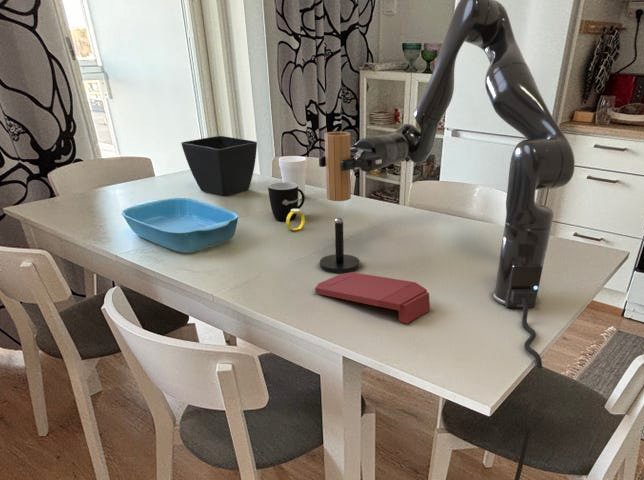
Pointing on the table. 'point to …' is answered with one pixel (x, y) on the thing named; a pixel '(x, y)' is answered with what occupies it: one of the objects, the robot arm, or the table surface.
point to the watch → (290, 217)
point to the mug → (284, 199)
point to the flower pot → (221, 163)
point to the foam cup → (294, 171)
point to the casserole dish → (182, 223)
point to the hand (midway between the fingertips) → (331, 164)
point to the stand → (339, 255)
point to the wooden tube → (337, 166)
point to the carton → (379, 293)
